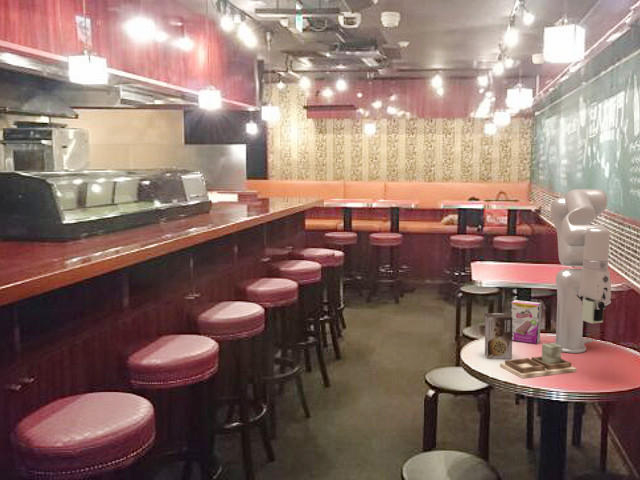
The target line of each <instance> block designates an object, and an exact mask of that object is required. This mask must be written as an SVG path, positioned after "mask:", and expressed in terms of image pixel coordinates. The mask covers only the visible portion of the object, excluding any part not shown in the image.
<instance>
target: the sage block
mask: <svg viewBox="0 0 640 480" xmlns="http://www.w3.org/2000/svg"><path fill="white" fill-rule="evenodd" d="M600 304H601V302H599V305H600ZM594 309H596V306H595V300H593V299H587V300H583V312H582V320H583V322H586V323H589V324H600V323H601V324H602V323H603V322H604V319H603V320H602V321H594ZM604 310H605V309H603V311H604Z"/></svg>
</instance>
